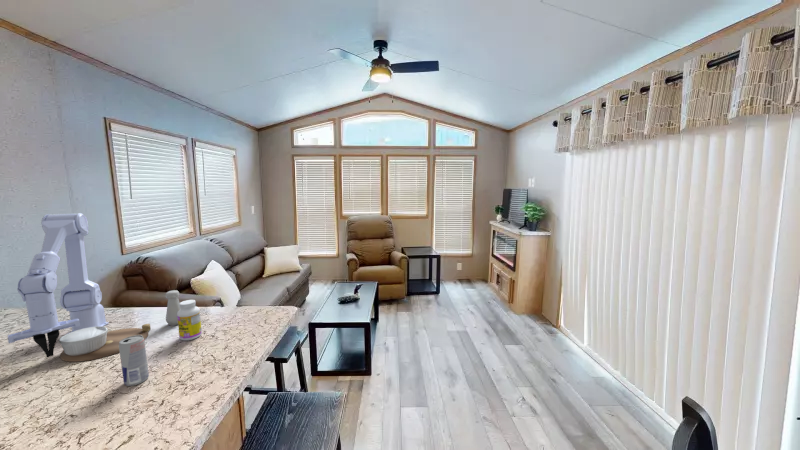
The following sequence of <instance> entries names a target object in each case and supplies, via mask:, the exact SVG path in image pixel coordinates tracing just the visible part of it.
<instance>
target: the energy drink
mask: <svg viewBox="0 0 800 450" xmlns="http://www.w3.org/2000/svg"><path fill="white" fill-rule="evenodd" d="M145 340H146V339H145ZM145 340H144V338H143V336H142V335H135V336H130V337H127V338H124V339H122V340H121V341H120V342H119V351H120V353H119V357H120V365H121V371H122V378H123V380H122V381H123V385H125V386H127V387H132V386H133V387H134V386H136V385H137V386H138V385H139V384H142V383H144V382H145V381H147V379H148V378H149V377H150V375H149V373H150V372H149V367H148V366H149V365H148V357H147V350H146V343H145Z"/></svg>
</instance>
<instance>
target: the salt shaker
mask: <svg viewBox="0 0 800 450" xmlns="http://www.w3.org/2000/svg"><path fill="white" fill-rule="evenodd" d="M179 296H180V292H179V291H178V290H177V289H176V290H175V289H173V290H169V291H167V292H166V293H165V298H166V299H167V305H166V314H165V321H166V323H167V325H168V326H170V327H171V326H172V327H174V326H178V318H177V312H178V311H179V310H180V309H181V308H180V305H179V304H180V302H181V301H180V300H179Z"/></svg>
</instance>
